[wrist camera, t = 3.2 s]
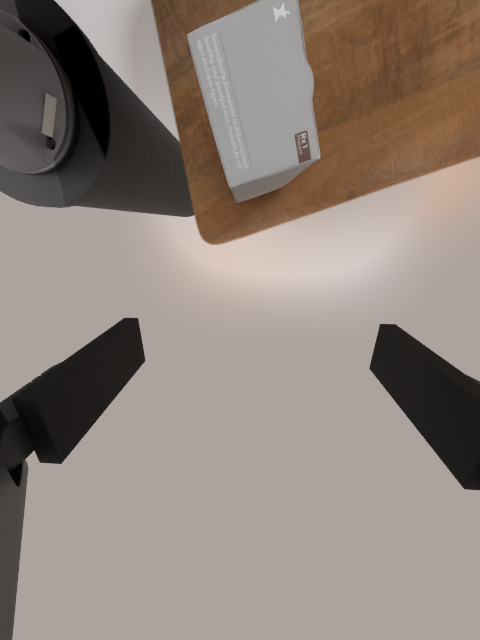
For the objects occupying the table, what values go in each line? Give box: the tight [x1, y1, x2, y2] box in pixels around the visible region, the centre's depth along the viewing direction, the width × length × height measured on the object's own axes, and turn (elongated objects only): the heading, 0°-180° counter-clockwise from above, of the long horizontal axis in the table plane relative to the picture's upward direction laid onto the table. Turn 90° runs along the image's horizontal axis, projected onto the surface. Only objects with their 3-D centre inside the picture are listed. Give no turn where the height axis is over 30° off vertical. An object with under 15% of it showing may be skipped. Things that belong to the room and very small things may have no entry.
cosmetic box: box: [187, 0, 320, 203], centre depth 21 cm, size 8×7×16 cm
